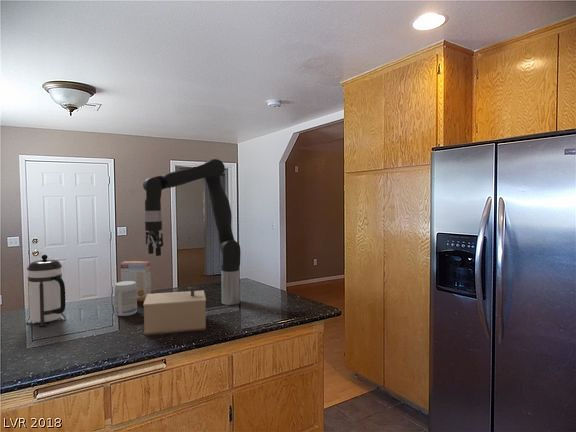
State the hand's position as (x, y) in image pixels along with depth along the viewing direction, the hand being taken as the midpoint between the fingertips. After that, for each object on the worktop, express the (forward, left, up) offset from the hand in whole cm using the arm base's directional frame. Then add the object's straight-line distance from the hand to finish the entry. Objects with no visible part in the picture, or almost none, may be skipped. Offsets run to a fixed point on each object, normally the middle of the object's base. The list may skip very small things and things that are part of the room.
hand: (154, 254), depth 174 cm
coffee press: (+44, 0, -29) cm, 53 cm away
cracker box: (+11, -27, -29) cm, 41 cm away
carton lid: (-10, +20, -16) cm, 27 cm away
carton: (-10, +20, -28) cm, 36 cm away
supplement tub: (+13, -4, -29) cm, 32 cm away
